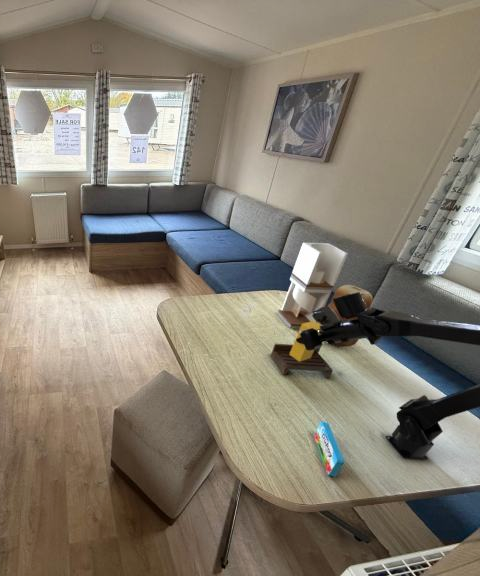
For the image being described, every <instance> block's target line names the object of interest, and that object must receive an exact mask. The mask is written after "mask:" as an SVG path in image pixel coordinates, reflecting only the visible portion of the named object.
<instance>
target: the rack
mask: <svg viewBox="0 0 480 576" xmlns="http://www.w3.org/2000/svg"><path fill="white" fill-rule="evenodd" d="M292 347H293V344H290V343H289V344H287V343H286V344H285V343H274V345H273V348H272V349H271V350H272V351H271V353H270V358H271V359H272V361H273V362H274V364H275V366H276V368H277V369H278V370H279V373H281V376H286V375H287V373H288V371H289V370H293V371H294V370H295V371H309V372H320V373H321V374H322V375H323V376H324V377H325V379H330V378H331V376H332V374H333V372H334V370H333V368H332V367H331V366H330V365H329V364H328V363H327V361H326V360H325V359H324V358H323V356H322V355H320V353H319V352H320V350H321V348H318V349H315V350H314V352H313V354H312V356H311V358H309V359H306V360H303V361H300V362H299V361H298V360H296V359H295V358H294V357H292V356H291V355H289V354H290V352H291V349H292Z"/></svg>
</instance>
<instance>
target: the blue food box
mask: <svg viewBox="0 0 480 576" xmlns="http://www.w3.org/2000/svg"><path fill="white" fill-rule="evenodd" d="M313 438H314V440H315V443H316V446H317V449H318V452H319V455H320V457H321V461H322V464H323V466H324V469H325V471H326V474H327V476H330V477H333V478H336V477H337V476H338V474H339V472H340V471H341V470H342V468H343V466H344V465H345V459H344V457H343V454H342V453H341V450H340V448H339V445H338V442H337V440H336V438H335V435H334V433H333V431H332V428H331V425H330V423H329V422H327V421H322V420H321V421H320V423H319V425H318V426H317V428H316V430H315V432H314V433H313Z"/></svg>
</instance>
